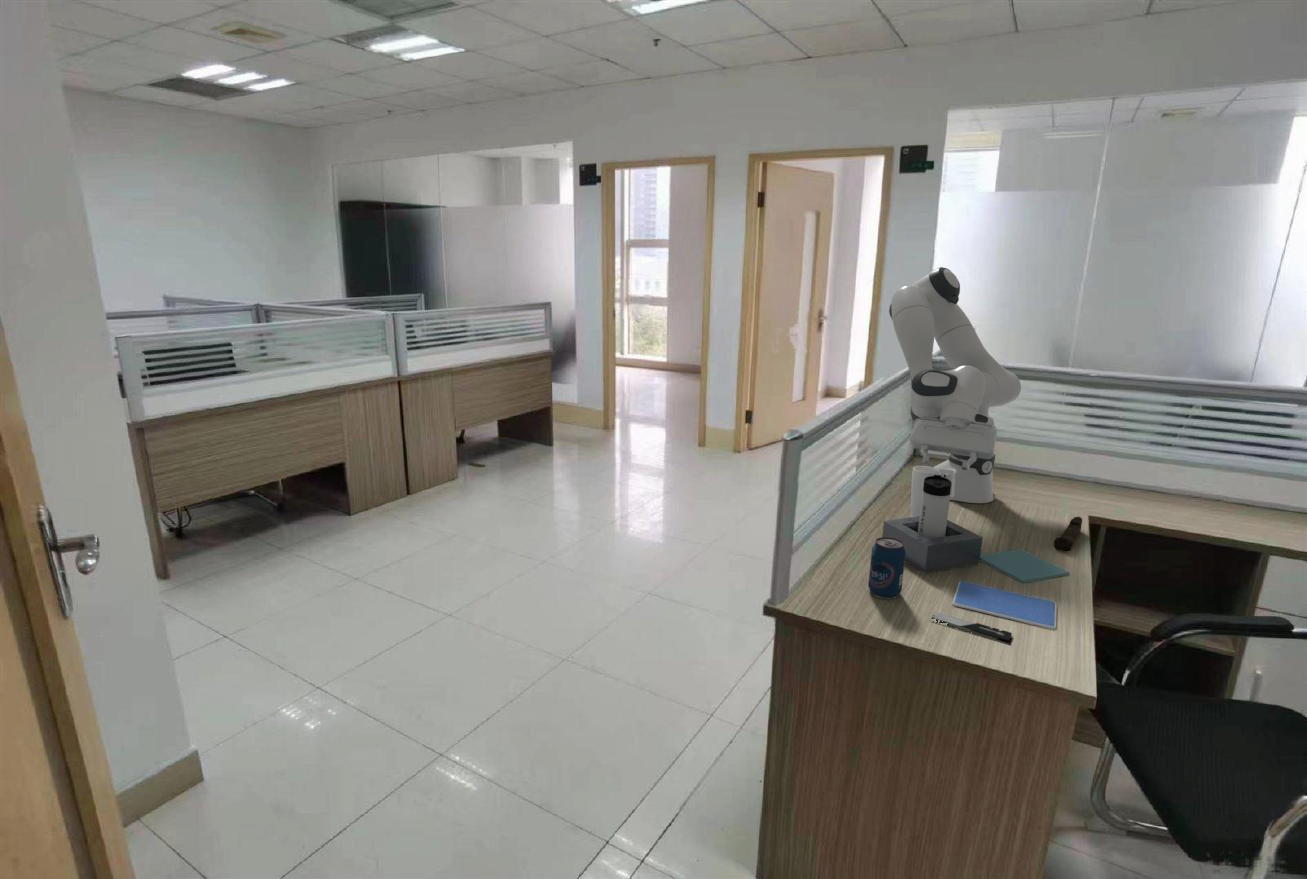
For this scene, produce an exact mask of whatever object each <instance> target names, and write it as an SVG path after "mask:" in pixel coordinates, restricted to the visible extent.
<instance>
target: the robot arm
mask: <svg viewBox="0 0 1307 879" xmlns="http://www.w3.org/2000/svg"><path fill="white" fill-rule="evenodd" d="M960 293H961V283H960V281H959V279H958V277H957V276H956V274H955V273H954V272H952V270H950V269H949V268H947V267H943V266H940V267H938V268H935V269H933V270H931V271H929V272H928V274H926V275H924V276H923V277H921V278H920V279H918V280H916V281H915V282H914V283H912V284H911V285H905V286H902V287H900V288H898V289H897V290H896V291H895V292H894V293H893V295H892V298H891V303H890V305H889V309H888V312H889V316H890V319H891V320H892V323H893V324H892V325H893V328H894V331H895V335H896V338H897V340H898V343H899V346H900V348H901V350H902V353H903V357H904V358H905V361H906V362H905V363H906V364H907V368H908V372H909V376H910V381H911V384H910V385H911V387H910V391H911V392H910V395H911V396H910V398H911V399H910V401H911V402H910V403H911V404H910V405H911V406H910V416H911V418H912V420H913V421H914V423H913V425H912V427H913V429H912V430H911V433H910V436H909V439H908V440H909V441H908V442H909V445H910V446H911V448H913V449H918V450H921V453H922V456H923V457H922V460H921V461H922V464H926V465H930V462H931V455H928V453H929V451H930V452H938V453H946V454H949V457H948V459H946V460H944V461H942V462H941V463H938V464H937V465H935V466H932V467H933V468H936V469H938V470H939V475H941V477H944V478H947V479H949V480H950V481H951V483H952V484H951V490H950V491H951V492H950V493H951V494H950V501H957V502H962V503H968V504H969V503H970V504H971V503H972V504H987V503H990V502H993V501H994V490H993V479H994V478H993V475H994V474H993V473H994V472H993V469H994V466H995V461H996V454H995V450H996V442H997V441H996V440H997V435H998V434H997V433H998V431H997V427H996V426H995V422H994V419H993V417H991V416H989V408H996V407H1002V406H1004V405H1007V404H1009V403H1011V402H1013V401H1015V400H1016V399H1018V397H1019V395H1020V394H1021V390H1022V387H1021V386H1022V385H1021V380H1020V379H1019V377H1018V375H1016V374H1015V373H1014V372H1011V371H1010V370H1008V369H1006V368H1005V367H1004V366H1002V365H1001V364H1000V363H999V362H998V361H997V360H996V359H995V358H994V357H993V356H992V355H991V354H990V353H989V351H988V350H987V349H986V348H985V346H984V345H983V342H982V341H981V339H980V338H979V336H978V334H977V332H976V330H975V329H974V328H975V327H973V325H972V322H971V320H970V319H969V317H968V316H967V314H966V313H965V312H964V311H963V309H962V308H961V306H960V305H959V304H958V302H959V301H960V300H959V299H960ZM934 342H936V344H937V346H938V348H939V350H940V352H941V354H942V356H943V358H944V360H945V363H946V364H947V365H948V366H949V367H950V368H951V369H948V370H947V369H945V370H939V369H938V370H937V369H933V352H934V344H935V343H934Z"/></svg>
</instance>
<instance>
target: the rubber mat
mask: <svg viewBox="0 0 1307 879" xmlns="http://www.w3.org/2000/svg"><path fill="white" fill-rule="evenodd" d="M980 561H981V562H983V563H984V564H986V565H988V566H989V567H992V568H994V569H995V570H997V571H1000V572H1001V573H1003V574H1005V575H1006V576H1009V577H1011V578H1013V579H1014V580H1016V581H1018V582H1019V583H1022V584H1026V583H1031V582H1037V581H1042V580H1043V581H1044V580H1047V579H1048V580H1049V579H1051V578H1052V579H1053V578H1058V577H1063V576H1068V575H1069V576H1070V572H1069V571H1068V570H1066V569H1064V568H1062V567H1060V566H1057V565H1055V564H1053V563H1051V562H1049V561H1047V560H1045V559H1043V558H1041V557H1039V556H1037V555H1034V554H1032V553H1031V552H1028V551H1026V550H1024V549H1022V548H1017V549H1011V550H1003V551H997V552H992V553H986V554H980V560H979V562H980Z"/></svg>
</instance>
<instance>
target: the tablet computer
mask: <svg viewBox="0 0 1307 879" xmlns="http://www.w3.org/2000/svg"><path fill="white" fill-rule="evenodd" d="M952 606H954V607H957V608H963V609H964V610H965V609H966V610H969V611H970V610H971V611H974V612H978V613H982V614H986V615H991V616H994V617H998V618H999V617H1000V618H1003V619H1005V620H1006V619H1007V620H1010V619H1011V620H1010V621H1016V622H1019V623H1024V624H1028V625H1031V626H1034V625H1035V627H1038V626H1039V628H1043V629H1046V628H1049V629H1048V630H1051V629H1053V631H1055V630H1057V609H1058V608H1057V606H1058V604H1057V603H1056V602H1055V601H1054V600H1048V599H1044V598H1040V597H1035V596H1030V595H1027V594H1021V593H1016V592H1013V591H1008V590H1005V589H999V588H996V587H990V586H987V585H982V584H978V583H973V582H968V581H965V580H961V581H959V582H958V584H957V587H956V590H955V593H954V598H953V600H952ZM1054 629H1055V630H1054Z"/></svg>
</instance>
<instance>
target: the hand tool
mask: <svg viewBox="0 0 1307 879" xmlns="http://www.w3.org/2000/svg"><path fill="white" fill-rule="evenodd" d="M1082 523H1083V518H1082V517H1081V516H1074V517H1073V518H1071V519H1070V521H1069V524H1068V526H1067V527H1066V528H1065V529H1064V531H1062V532H1061V534H1060V535H1059V536H1057V537H1056V538H1055V539H1054V542H1053V547H1054V549H1055V550H1056V551H1060V552H1063V553H1064V552H1065V553H1069V552H1071V550H1072V548H1073V546H1074V544H1075V541H1076V540H1077V538H1079V537H1080V534H1081V530H1082V525H1083V524H1082Z"/></svg>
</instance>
